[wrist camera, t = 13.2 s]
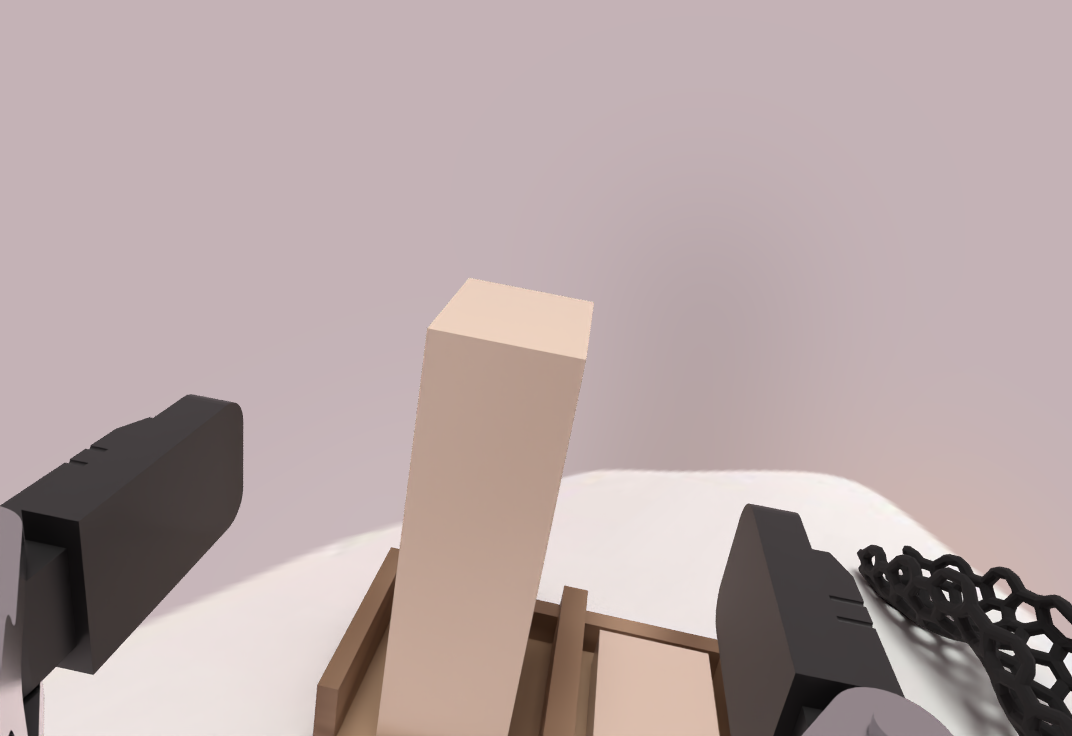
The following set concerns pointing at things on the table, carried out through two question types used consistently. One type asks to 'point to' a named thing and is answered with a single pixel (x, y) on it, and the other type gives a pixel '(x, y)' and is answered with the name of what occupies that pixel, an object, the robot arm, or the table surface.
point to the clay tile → (649, 689)
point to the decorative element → (984, 629)
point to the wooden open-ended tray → (546, 676)
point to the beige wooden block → (480, 505)
